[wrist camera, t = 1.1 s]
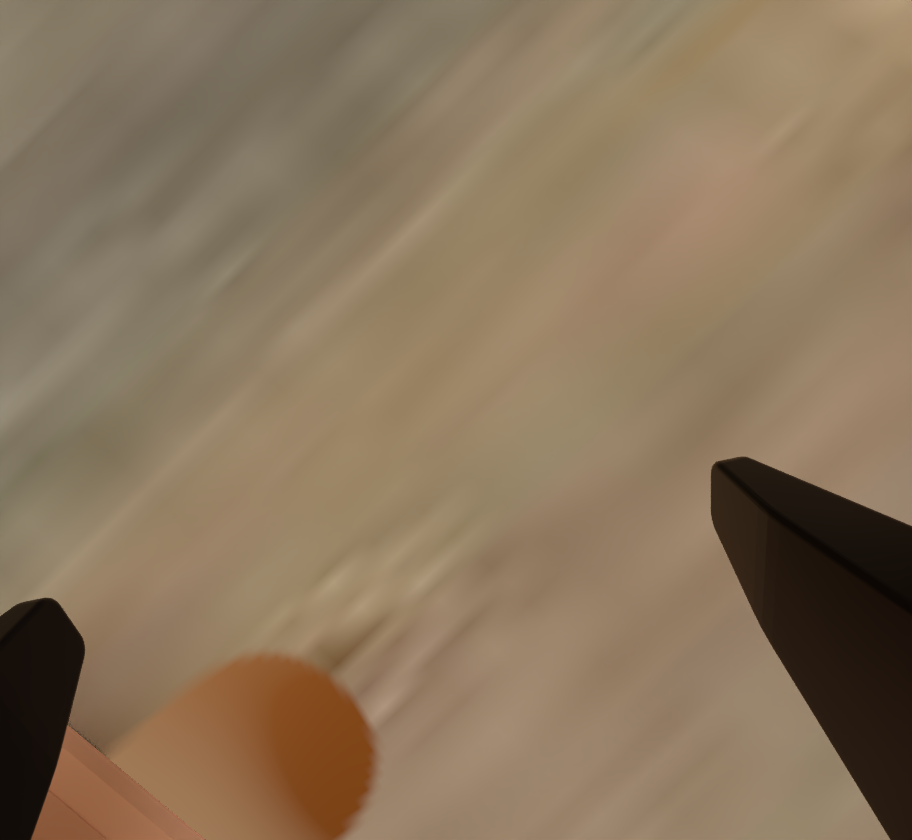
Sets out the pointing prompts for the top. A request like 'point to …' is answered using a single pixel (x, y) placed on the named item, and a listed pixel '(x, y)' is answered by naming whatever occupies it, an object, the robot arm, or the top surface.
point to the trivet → (102, 801)
